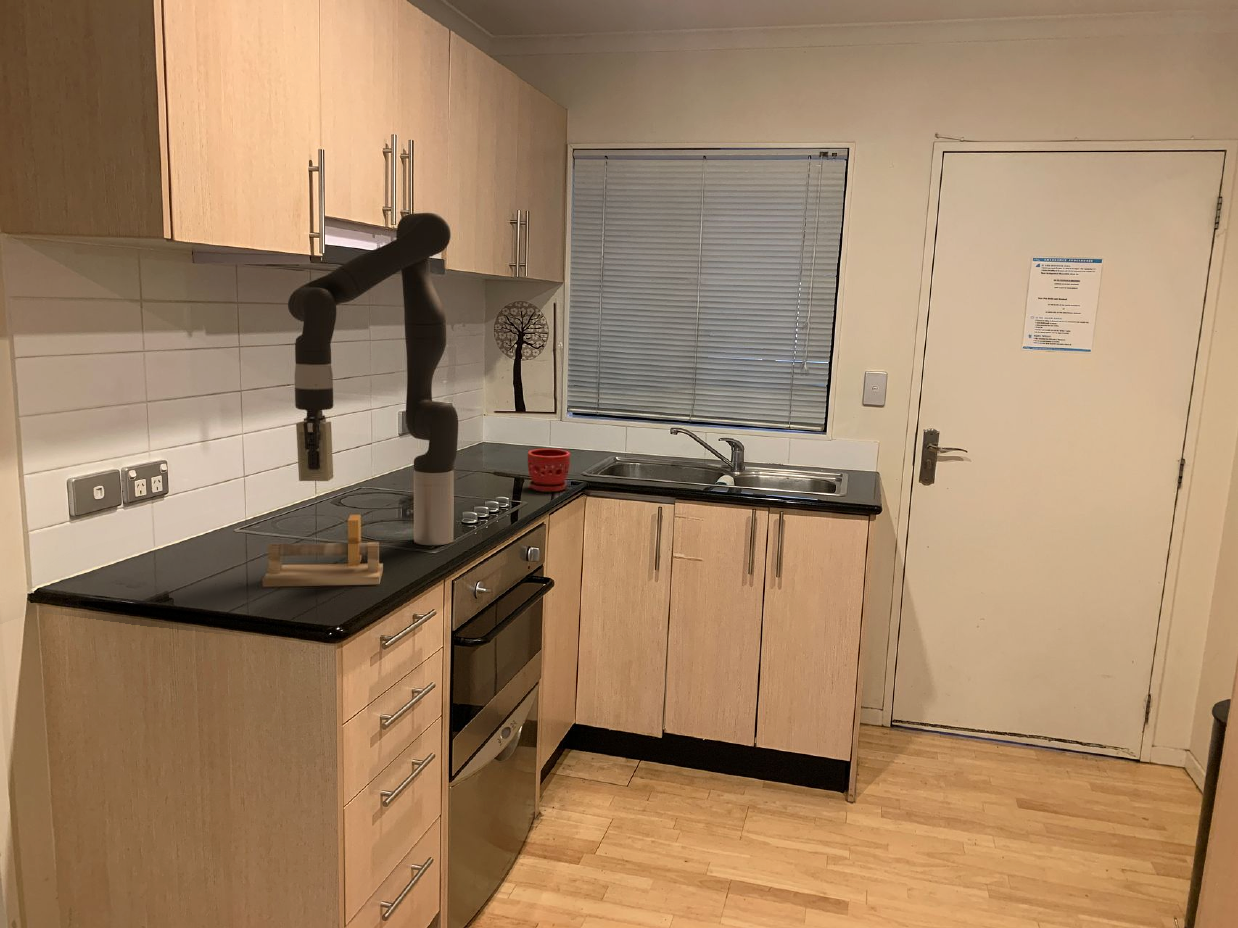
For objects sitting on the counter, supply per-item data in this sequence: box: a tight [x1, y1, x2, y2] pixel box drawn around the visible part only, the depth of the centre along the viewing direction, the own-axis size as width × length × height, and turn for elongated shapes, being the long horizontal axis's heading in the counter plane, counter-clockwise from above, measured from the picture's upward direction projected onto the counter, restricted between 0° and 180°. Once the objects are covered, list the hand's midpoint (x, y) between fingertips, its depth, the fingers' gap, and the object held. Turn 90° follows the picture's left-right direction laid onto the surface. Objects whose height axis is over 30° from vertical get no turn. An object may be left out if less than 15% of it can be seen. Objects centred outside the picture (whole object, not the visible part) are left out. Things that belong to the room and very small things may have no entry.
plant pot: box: [527, 448, 571, 493], centre depth 282 cm, size 13×13×12 cm
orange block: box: [347, 514, 362, 566], centre depth 183 cm, size 6×2×9 cm, turn 10°
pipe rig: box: [262, 541, 384, 588], centre depth 183 cm, size 10×22×9 cm, turn 100°
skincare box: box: [295, 421, 334, 482], centre depth 190 cm, size 6×4×12 cm
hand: (315, 466), depth 190 cm, fingers closed on skincare box, 4 cm apart
